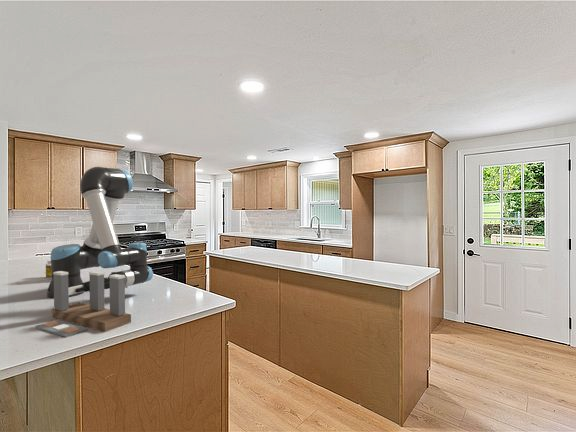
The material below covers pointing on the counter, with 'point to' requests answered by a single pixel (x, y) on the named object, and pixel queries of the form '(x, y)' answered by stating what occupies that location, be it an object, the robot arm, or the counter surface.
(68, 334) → the pattern card
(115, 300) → the key outer
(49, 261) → the supplement bottle
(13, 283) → the counter surface
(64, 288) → the key inner
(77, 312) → the brown wooden board
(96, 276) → the key middle
